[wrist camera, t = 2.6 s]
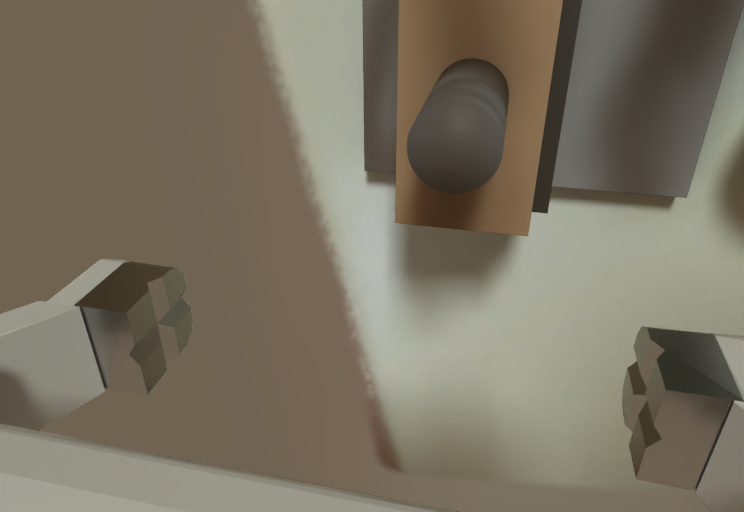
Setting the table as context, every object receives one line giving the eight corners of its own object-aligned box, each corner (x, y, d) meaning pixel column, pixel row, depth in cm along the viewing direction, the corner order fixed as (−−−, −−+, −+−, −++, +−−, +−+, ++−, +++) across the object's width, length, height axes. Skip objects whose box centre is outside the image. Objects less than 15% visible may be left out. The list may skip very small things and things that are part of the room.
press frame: (1239, -141, 22) (1675, -176, 14) (1019, 214, 30) (1212, 332, 21) (368, -124, 29) (302, -140, 20) (370, 161, 36) (322, 235, 28)
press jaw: (581, -78, 26) (624, -72, 14) (542, 170, 32) (550, 320, 20) (431, -78, 28) (357, -72, 16) (421, 161, 34) (363, 296, 22)
